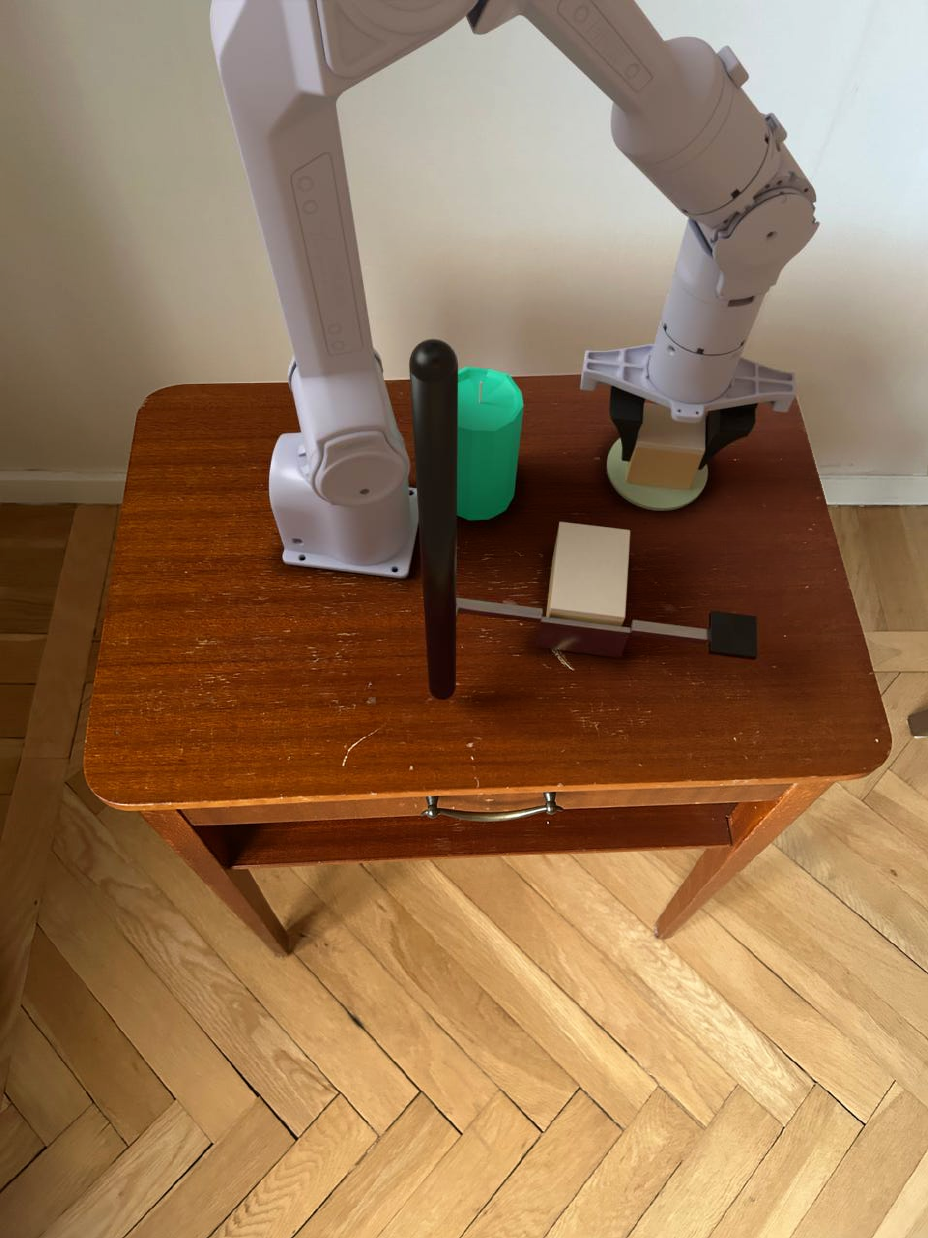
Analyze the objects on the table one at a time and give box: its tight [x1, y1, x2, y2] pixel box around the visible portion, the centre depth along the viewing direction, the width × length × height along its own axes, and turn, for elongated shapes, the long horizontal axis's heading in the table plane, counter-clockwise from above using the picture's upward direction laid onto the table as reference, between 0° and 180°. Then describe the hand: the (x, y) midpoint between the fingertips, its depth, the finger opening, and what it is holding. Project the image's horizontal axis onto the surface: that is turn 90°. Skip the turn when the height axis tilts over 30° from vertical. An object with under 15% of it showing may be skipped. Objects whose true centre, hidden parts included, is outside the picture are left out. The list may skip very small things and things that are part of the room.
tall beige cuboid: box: [545, 521, 631, 627], centre depth 62 cm, size 5×7×5 cm
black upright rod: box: [408, 338, 758, 701], centre depth 47 cm, size 21×7×33 cm, turn 82°
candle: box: [457, 366, 525, 521], centre depth 64 cm, size 6×6×12 cm
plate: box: [606, 437, 709, 512], centre depth 70 cm, size 8×8×1 cm
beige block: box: [626, 402, 707, 490], centre depth 67 cm, size 5×4×5 cm
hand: (661, 455), depth 68 cm, fingers closed on beige block, 5 cm apart
